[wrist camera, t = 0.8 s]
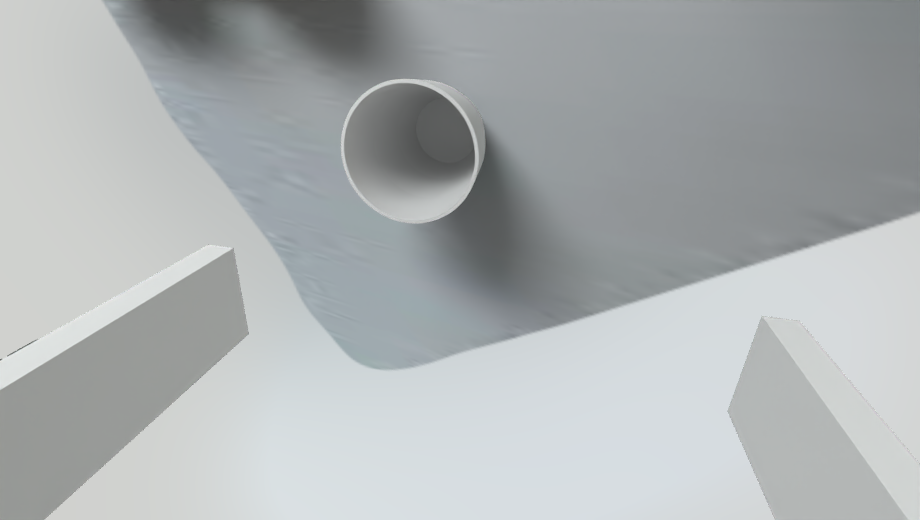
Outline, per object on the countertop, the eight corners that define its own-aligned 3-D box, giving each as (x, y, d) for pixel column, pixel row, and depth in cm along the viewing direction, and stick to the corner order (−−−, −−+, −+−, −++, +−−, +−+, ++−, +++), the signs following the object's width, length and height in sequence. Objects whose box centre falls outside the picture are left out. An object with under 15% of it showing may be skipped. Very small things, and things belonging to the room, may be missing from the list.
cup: (397, 178, 38) (345, 216, 29) (394, 69, 35) (335, 75, 26) (496, 186, 37) (474, 230, 28) (504, 75, 33) (482, 82, 24)
